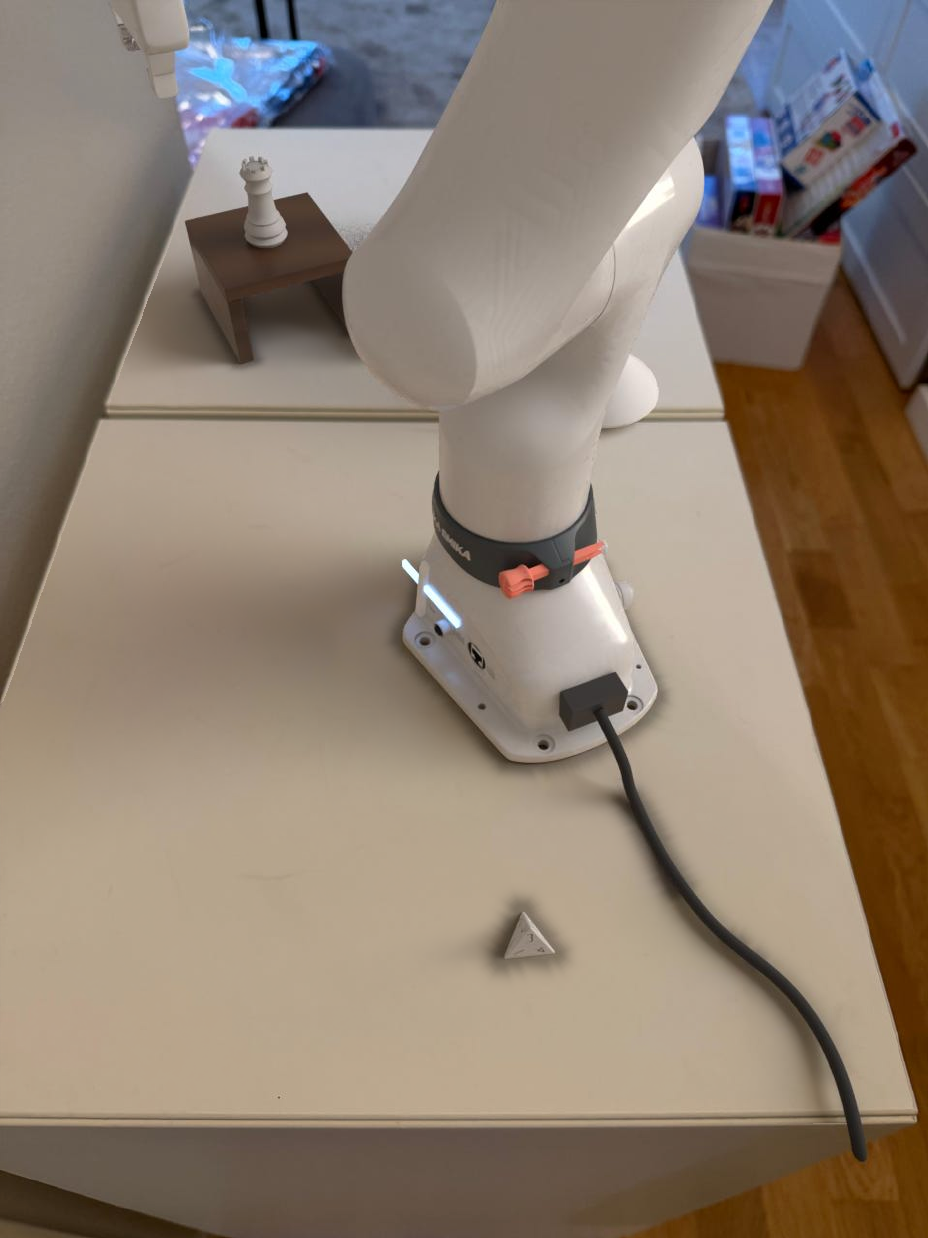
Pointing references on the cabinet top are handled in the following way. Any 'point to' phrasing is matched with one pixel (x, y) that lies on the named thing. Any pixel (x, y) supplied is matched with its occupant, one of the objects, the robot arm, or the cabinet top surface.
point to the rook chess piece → (261, 206)
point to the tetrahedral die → (527, 940)
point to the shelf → (265, 262)
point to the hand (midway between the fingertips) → (149, 69)
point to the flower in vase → (632, 395)
